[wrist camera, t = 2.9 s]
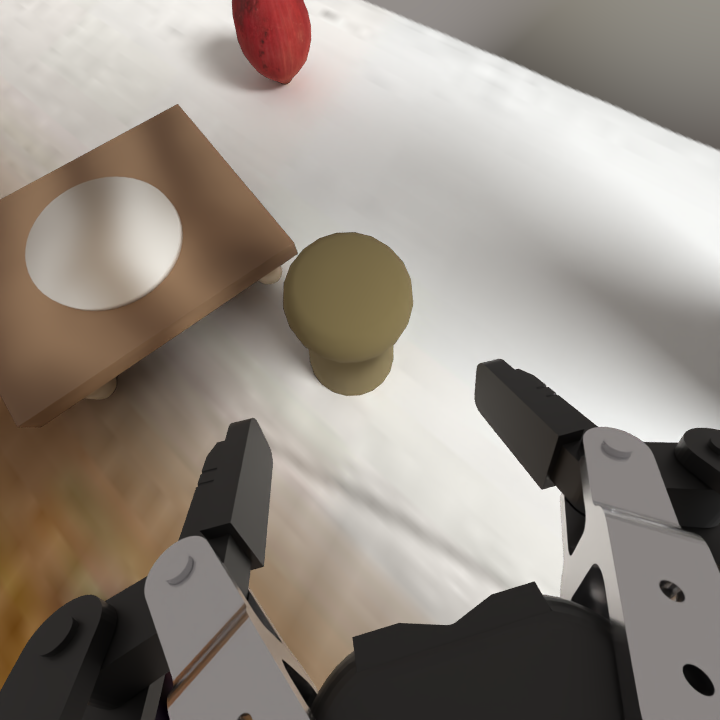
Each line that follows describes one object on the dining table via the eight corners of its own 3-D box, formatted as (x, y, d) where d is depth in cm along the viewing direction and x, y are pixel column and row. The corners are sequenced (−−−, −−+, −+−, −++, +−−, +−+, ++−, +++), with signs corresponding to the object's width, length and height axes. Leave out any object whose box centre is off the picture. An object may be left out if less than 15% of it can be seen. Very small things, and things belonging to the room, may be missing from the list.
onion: (277, 117, 25) (242, -19, 18) (239, 78, 26) (191, -67, 19) (328, 85, 26) (317, -57, 19) (290, 49, 27) (264, -102, 19)
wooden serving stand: (207, 157, 24) (174, 97, 20) (305, 276, 22) (292, 238, 18) (2, 277, 22) (-90, 238, 17) (89, 426, 19) (8, 427, 15)
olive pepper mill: (292, 356, 21) (223, 281, 10) (349, 299, 22) (343, 175, 11) (353, 414, 20) (351, 401, 9) (410, 352, 21) (468, 274, 10)
